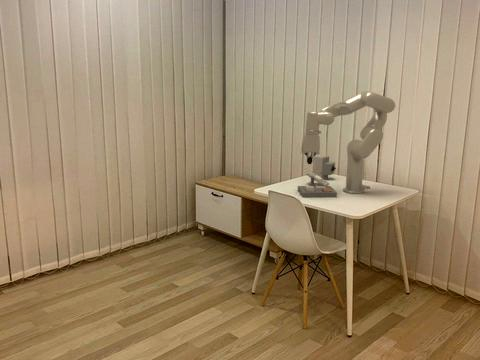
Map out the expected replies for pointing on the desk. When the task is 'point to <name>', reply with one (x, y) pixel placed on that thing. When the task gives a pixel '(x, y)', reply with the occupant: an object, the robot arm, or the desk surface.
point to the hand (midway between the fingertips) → (309, 163)
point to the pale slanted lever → (317, 178)
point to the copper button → (326, 189)
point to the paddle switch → (312, 182)
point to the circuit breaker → (323, 166)
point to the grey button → (309, 189)
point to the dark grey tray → (317, 192)
